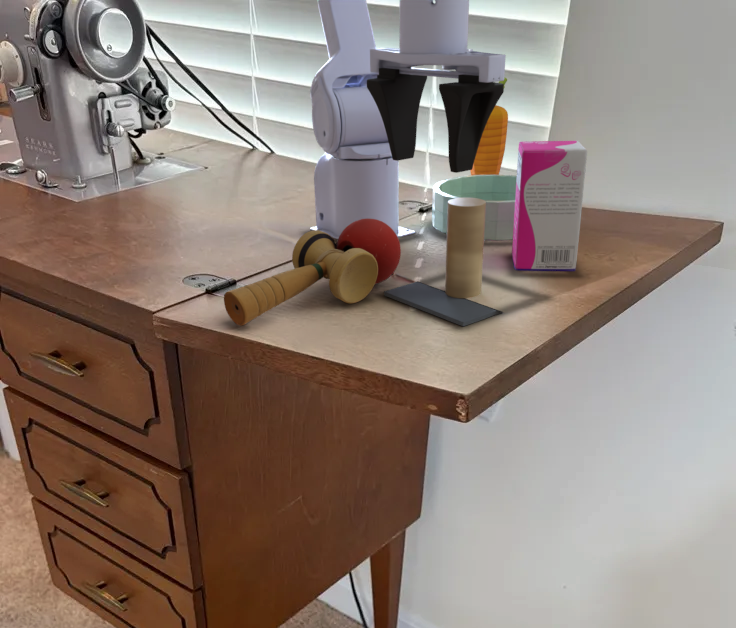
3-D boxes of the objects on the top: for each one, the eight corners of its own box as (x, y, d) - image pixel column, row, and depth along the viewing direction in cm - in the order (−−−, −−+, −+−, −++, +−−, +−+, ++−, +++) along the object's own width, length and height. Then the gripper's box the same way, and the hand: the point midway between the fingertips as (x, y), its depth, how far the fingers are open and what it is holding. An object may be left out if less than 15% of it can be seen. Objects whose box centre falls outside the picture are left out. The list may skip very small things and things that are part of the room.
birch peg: (437, 292, 70) (439, 201, 66) (462, 284, 72) (466, 195, 68) (463, 301, 68) (466, 208, 64) (488, 292, 70) (493, 201, 66)
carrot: (501, 195, 104) (509, 71, 97) (503, 204, 100) (512, 75, 92) (463, 194, 104) (469, 71, 97) (464, 203, 100) (469, 75, 93)
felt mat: (383, 295, 71) (383, 291, 71) (462, 271, 76) (462, 267, 76) (463, 326, 64) (463, 322, 64) (543, 298, 70) (543, 293, 69)
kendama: (273, 354, 63) (427, 273, 72) (249, 280, 60) (412, 205, 70) (224, 343, 69) (372, 269, 78) (200, 275, 66) (356, 206, 75)
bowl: (407, 226, 91) (408, 187, 89) (489, 206, 99) (491, 169, 97) (496, 252, 82) (499, 208, 80) (579, 228, 89) (584, 187, 87)
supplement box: (568, 257, 80) (580, 138, 74) (575, 276, 75) (589, 150, 69) (510, 256, 80) (518, 138, 75) (513, 275, 75) (522, 150, 70)
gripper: (536, -11, 61) (522, 169, 68) (411, -8, 71) (410, 148, 78) (472, -9, 57) (465, 181, 64) (349, -7, 67) (354, 158, 74)
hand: (431, 164), depth 71 cm, fingers open, 7 cm apart
